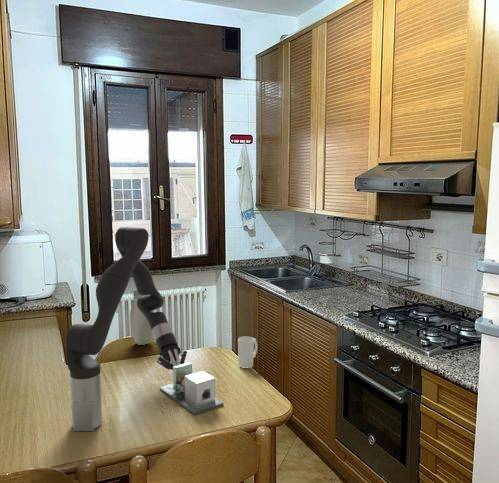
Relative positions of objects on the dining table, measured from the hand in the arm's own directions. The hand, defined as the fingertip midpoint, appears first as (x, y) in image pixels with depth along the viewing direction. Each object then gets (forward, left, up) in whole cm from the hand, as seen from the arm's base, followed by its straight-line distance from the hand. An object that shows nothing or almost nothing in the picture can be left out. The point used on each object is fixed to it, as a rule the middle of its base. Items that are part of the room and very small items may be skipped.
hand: (180, 377), depth 180 cm
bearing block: (-6, -4, -5) cm, 9 cm away
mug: (+24, -27, -5) cm, 37 cm away
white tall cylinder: (+51, +23, -5) cm, 56 cm away
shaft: (-7, -5, -4) cm, 9 cm away
